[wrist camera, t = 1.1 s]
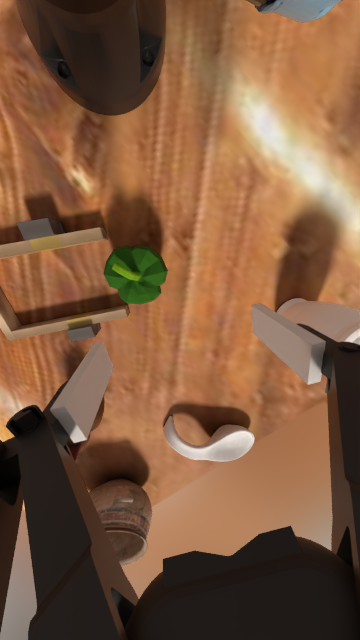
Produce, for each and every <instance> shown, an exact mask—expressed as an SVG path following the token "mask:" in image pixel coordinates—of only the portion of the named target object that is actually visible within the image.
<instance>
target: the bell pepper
mask: <svg viewBox="0 0 360 640" xmlns="http://www.w3.org/2000/svg"><path fill="white" fill-rule="evenodd" d="M167 271H168V270H167V268H166V266H165V263H164V261H163V259H162V257H161V256H160V255H159V254H157V253H156V252H155V251H154V250H153V249H152V248H151V247H148V246H142V245H137V246H135V247H134V248H132V247H130V246H127V245H126V246H123V247H120V248H117V249H114V250H113V251H112V253H111V255H110V256H109V258H108V260H107V262H106V266H105V270H104V275H105V277H106V279H107V281H108V283H109V285H110V287H113V288H116V289H118V292H119V297H120V298H121V299H122V300H123V301H124V302H126V303H130V304H144V303H147V302H151V301H154V300H155V299H156V298H157V297H158V296H159V295H160V294H161V289H160V285H162V284H163V283H164V282H165V280H166V276H167Z"/></svg>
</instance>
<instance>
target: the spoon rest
mask: <svg viewBox="0 0 360 640" xmlns="http://www.w3.org/2000/svg"><path fill="white" fill-rule="evenodd" d="M163 430H164V435H165V438H166V440H167V442H168V443H169V444H170V446H171V447H172V448H173V449H174V450H176V451H177V452H178V453H180V454H182V455H183V456H185V457H188V458H190V459H194V460H213V461H231V460H234V459H237V458H239V457H241V456H243V455H244V454H245V453H246V452H247V451H248V450H249V449H250V448H251V447H252V445H253V443H254V435H253V433H252V432H251V431H250V430H248V429H247V428H245V427H242V426H239V425H223V426H221V427H220V428H218V429H217V430H216V432H215V433H214V434H213V436H212V437H211V438H210V440H209V441H208V442H207V443H205V444H204V445H201V446H195V445H191V444H189V443H187V442H185V441H184V440H183V439H181V437H180V436H179V435H178V433H177V432H176V429H175V426H174V421H173V417H172V416H169V418H168V420H167V422H166V424H165V426H164V429H163Z"/></svg>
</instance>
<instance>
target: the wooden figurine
mask: <svg viewBox="0 0 360 640" xmlns="http://www.w3.org/2000/svg"><path fill="white" fill-rule="evenodd" d="M103 412H104V397H103V398H102V401H101V403H100V406H99V409H98V412H97V414H96V417H95V420H94V422H93V425H92V428H91V430H90V432H91V431H93V430H94V429H96V428H97V427H98V425H99V424H100V422H101V419H102V416H103ZM89 438H90V433H89V436H88V439H87V440H84V441H80V442H76V443H74V442H73V441H72V440H71V438H70V437H69V438H68V440H67V442H66V444H67V446H68V447H69V449H70V451H71V454H72V456H73V458H74V460H76V458H77V456H78V453H79V451H81V450H82V449H83V448H84V447H85V446H86V444H87V443H88V440H89Z"/></svg>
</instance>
